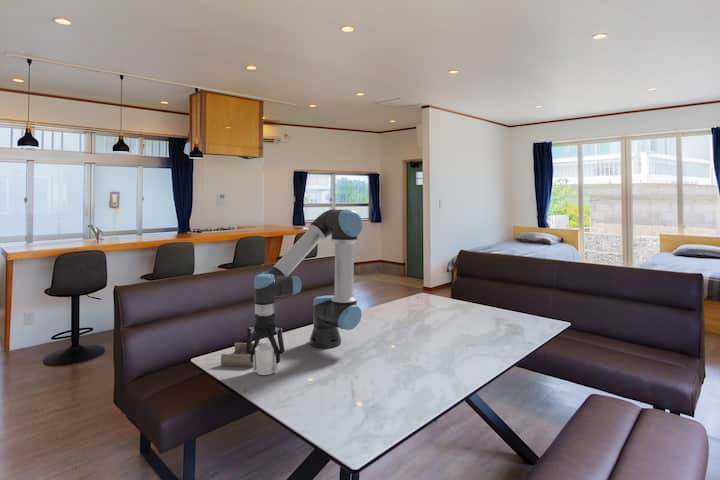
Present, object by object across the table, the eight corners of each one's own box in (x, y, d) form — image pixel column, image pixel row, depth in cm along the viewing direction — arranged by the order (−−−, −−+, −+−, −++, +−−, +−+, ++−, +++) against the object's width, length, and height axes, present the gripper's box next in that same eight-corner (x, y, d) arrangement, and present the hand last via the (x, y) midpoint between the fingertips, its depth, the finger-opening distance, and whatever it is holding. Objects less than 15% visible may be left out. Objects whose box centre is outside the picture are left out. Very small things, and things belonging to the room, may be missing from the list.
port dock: (266, 353, 182) (266, 343, 182) (254, 367, 166) (254, 356, 166) (235, 352, 183) (235, 342, 183) (221, 365, 168) (221, 355, 167)
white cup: (255, 377, 156) (255, 351, 156) (255, 369, 164) (254, 344, 163) (276, 374, 158) (276, 349, 158) (275, 367, 166) (274, 343, 165)
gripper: (235, 315, 156) (236, 373, 158) (288, 316, 155) (288, 375, 157) (242, 310, 164) (243, 365, 166) (292, 311, 162) (293, 367, 164)
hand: (265, 370), depth 161 cm, fingers closed on white cup, 8 cm apart
